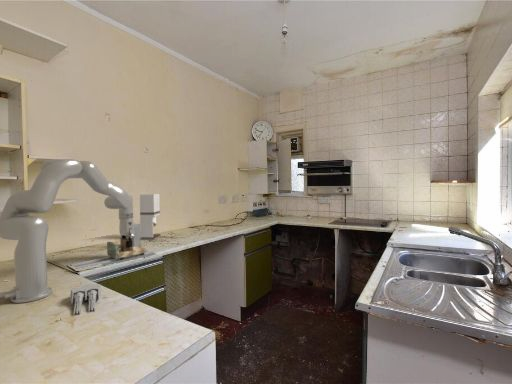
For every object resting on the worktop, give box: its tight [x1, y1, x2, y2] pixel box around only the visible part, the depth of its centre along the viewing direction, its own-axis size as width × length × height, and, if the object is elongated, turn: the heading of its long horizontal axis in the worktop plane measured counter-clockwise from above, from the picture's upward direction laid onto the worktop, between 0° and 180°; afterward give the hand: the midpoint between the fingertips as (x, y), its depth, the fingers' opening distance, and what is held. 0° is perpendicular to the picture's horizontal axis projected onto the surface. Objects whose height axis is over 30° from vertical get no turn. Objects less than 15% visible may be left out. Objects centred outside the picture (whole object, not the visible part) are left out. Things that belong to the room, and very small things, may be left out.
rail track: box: [68, 249, 157, 269], centre depth 152 cm, size 42×16×1 cm, turn 140°
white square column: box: [139, 193, 161, 241], centre depth 208 cm, size 11×11×35 cm
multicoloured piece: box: [106, 241, 148, 260], centre depth 158 cm, size 18×12×9 cm
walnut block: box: [119, 238, 133, 252], centre depth 157 cm, size 5×5×7 cm
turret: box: [69, 284, 102, 316], centre depth 99 cm, size 10×20×5 cm, turn 30°
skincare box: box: [128, 223, 142, 247], centre depth 182 cm, size 8×7×16 cm
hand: (126, 246), depth 157 cm, fingers open, 6 cm apart
